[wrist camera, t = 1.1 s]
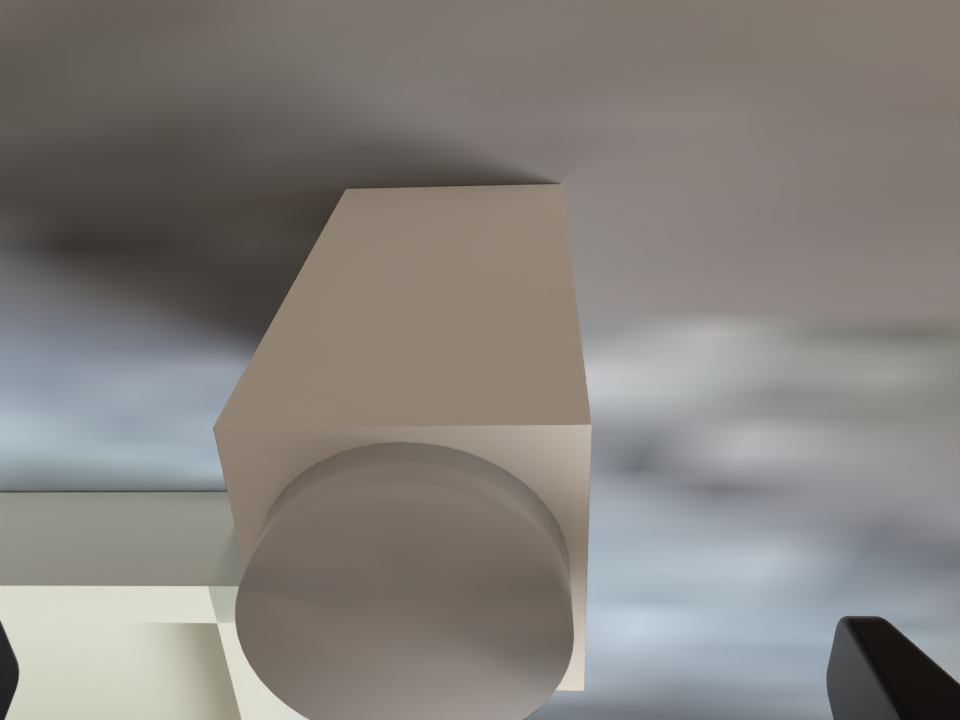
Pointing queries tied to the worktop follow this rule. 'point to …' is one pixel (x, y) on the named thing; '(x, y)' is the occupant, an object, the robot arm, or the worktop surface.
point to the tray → (126, 608)
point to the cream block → (417, 463)
